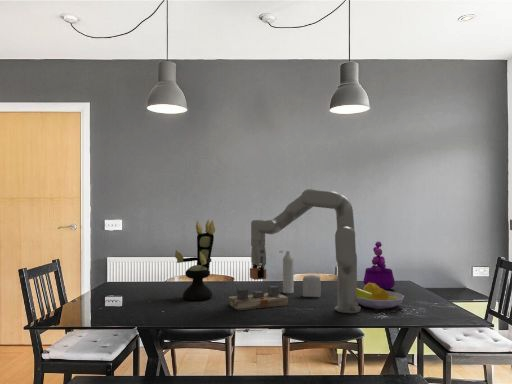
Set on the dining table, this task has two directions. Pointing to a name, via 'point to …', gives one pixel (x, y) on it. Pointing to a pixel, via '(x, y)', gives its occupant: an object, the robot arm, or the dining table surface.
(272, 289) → the block
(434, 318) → the dining table surface
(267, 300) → the breaker board
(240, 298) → the block
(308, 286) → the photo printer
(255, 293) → the block
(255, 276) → the cap
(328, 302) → the dining table surface
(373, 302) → the fruit bowl
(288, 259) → the water bottle
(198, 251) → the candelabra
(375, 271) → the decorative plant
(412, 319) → the dining table surface
